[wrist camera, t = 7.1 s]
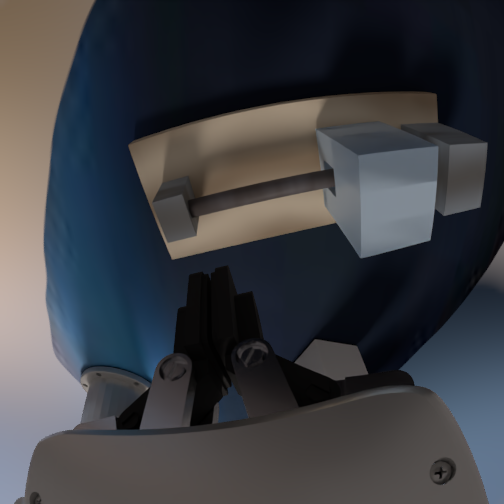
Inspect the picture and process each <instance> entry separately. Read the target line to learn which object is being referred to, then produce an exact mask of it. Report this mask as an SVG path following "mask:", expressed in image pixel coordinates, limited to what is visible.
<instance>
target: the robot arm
mask: <svg viewBox="0 0 504 504" xmlns="http://www.w3.org/2000/svg"><path fill="white" fill-rule="evenodd" d="M231 381H232V383H233V385H234V386H235V388H236V390H237V392H238V394H239V395H240V396H242V398H243V401H244V404H245V407H246V410H247V414H248V417H249V418H248V419H242V420H236V421H229V422H222V423H218V414H219V404H218V402H219V401H220V400H221V399H222V398H223V396H225V395H228V390H227V388H228V387H231ZM80 382H81V385H82V387H83V389H84V390H85V391H86V392H87V397H86V401H85V405H84V410H83V414H82V419H81V424H79V425H77V426H76V427H75V428H74V429H73V430H67V431H62V432H58V433H55V434H52V435H49V436H47V437H45V438H44V439H42V440H41V441H40V442H39V443H38V444H37V446H36V448H35V450H34V453H33V455H32V459H31V462H30V467H29V471H28V477H27V483H26V490H25V497H21V498H19V499H18V500H16V502H15V503H14V504H489V503H488V500H487V496H486V492H485V489H484V486H483V482H482V479H481V476H480V474H479V471H478V468H477V466H476V463H475V460H474V458H473V455H472V453H471V450H470V448H469V446H468V444H467V442H466V439H465V437H464V435H463V433H462V431H461V429H460V427H459V425H458V423H457V422H456V420H455V418H454V417H453V415H452V413H451V411H450V410H449V409H448V407H447V406H446V404H445V403H444V402H443V400H442V399H441V398H440V397H439V396H438V395H437V394H436V393H434V392H433V391H431V390H430V389H427V388H424V387H420V386H415V385H414V381H413V379H412V377H411V376H410V375H409V374H408V373H407V372H404V371H401V370H393V371H387V372H380V373H374V374H366V375H359V376H350V377H345V380H336V381H335V380H333V379H331V378H330V377H327V376H325V375H322V374H320V373H317V372H315V371H312V370H310V369H308V368H305V367H303V366H300V365H298V364H296V363H293V362H291V361H289V360H287V359H284V358H282V357H280V356H278V355H275V353H274V351H273V349H272V347H271V345H270V344H269V343H268V342H267V341H265V340H264V338H263V333H262V328H261V323H260V319H259V315H258V310H257V306H256V303H255V299H254V296H253V292H252V291H251V292H247V293H242V294H238V295H237V292H236V289H235V286H234V282H233V279H232V276H231V273H230V270H229V267H228V265H227V266H223V267H219V268H215V272H213V273H211V280H210V278H209V275H208V274H203V272H198V273H194V274H190V275H189V283H188V293H187V304H186V306H185V307H180V308H179V309H178V313H177V322H176V332H175V342H174V353H173V354H170V355H168V356H166V357H164V358H163V359H162V360H161V361H160V362H159V363H158V365H157V367H156V369H155V373H154V376H153V380H152V383H149V382H148V381H147V380H145V379H143V378H142V377H140V376H138V375H135V374H133V373H130V372H128V371H125V370H121V369H118V368H113V367H105V366H96V367H91V368H88V369H86V370H85V371H84V372H83V373H82V376H81V380H80ZM433 463H434V464H433ZM444 483H445V484H444ZM443 484H444V485H443Z"/></svg>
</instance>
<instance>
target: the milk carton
mask: <svg viewBox="0 0 504 504" xmlns="http://www.w3.org/2000/svg"><path fill="white" fill-rule="evenodd" d="M294 363H296V364H298V365H300V366H303V367H305V368H308V369H310V370H312V371H315V372H317V373H320V374H322V375H325V376H327V377H330V378H331V379H333V380H335V381H336V380H345V377H350V376H359V375H366V374H368V372H367V370H366V367H365V365H364V362H363V360H362V357H361V355H360V352H359V350H358V347H357V346H354V345H348V344H341V343H335V342H329V341H323V340H317V339H315V340H314V341H313V342H312V343H311V344H310V345H309V347H308V348H307V349H306V350H305V351H304V352H303V353H302V355H301V356H300V357H299V358H298V359H297V360H296V361H295V362H294Z"/></svg>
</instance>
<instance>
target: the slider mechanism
mask: <svg viewBox="0 0 504 504" xmlns="http://www.w3.org/2000/svg"><path fill="white" fill-rule="evenodd" d="M376 121H380V122H382V123H385V124H388V125H390V126H393V127H395V128H398V129H400V130H403V131H405V132H408V133H410V134H412V135H415V136H417V137H419V138H422V139H424V140H426V141H428V142H430V143H433V144H435V145H437V146H438V173H437V188H436V199H435V209H436V210H438V211H439V212H440V213H441V214H442V215H444V216H445V215H449V214H453V213H458V212H462V211H466V210H470V209H474V208H478V207H480V204H481V198H482V192H483V184H484V176H485V167H486V156H487V143H486V142H484V141H482V140H480V139H478V138H475V137H473V136H471V135H468V134H466V133H463V132H461V131H459V130H456V129H454V128H451V127H448V126H446V125H443V124H440V123H438V113H437V95H436V94H434V93H429V92H371V93H354V94H342V95H331V96H322V97H314V98H306V99H299V100H292V101H286V102H280V103H274V104H268V105H263V106H258V107H253V108H248V109H243V110H239V111H234V112H230V113H225V114H221V115H217V116H213V117H209V118H205V119H202V120H198V121H194V122H191V123H187V124H184V125H180V126H177V127H174V128H170V129H167V130H164V131H161V132H158V133H155V134H152V135H149V136H146V137H143V138H140V139H137V140H135V141H133V142H132V143H130V144H129V145H128V146H129V149H130V152H131V155H132V158H133V161H134V164H135V166H136V169H137V172H138V175H139V178H140V180H141V183H142V186H143V188H144V191H145V194H146V196H147V199H148V202H149V204H150V207H151V209H152V212H153V214H154V217H155V219H156V222H157V224H158V227H159V229H160V232H161V234H162V237H163V239H164V241H165V244H166V246H167V248H168V251H169V253H170V255H171V258H172V259H177V258H181V257H185V256H190V255H194V254H198V253H203V252H207V251H211V250H216V249H220V248H224V247H229V246H233V245H238V244H242V243H246V242H251V241H255V240H260V239H264V238H269V237H273V236H278V235H282V234H287V233H291V232H296V231H300V230H305V229H309V228H314V227H318V226H323V225H327V224H332V223H336V221H335V220H334V218H333V217H332V215H331V214H330V213H329V211H328V210H327V208H326V207H325V205H324V194H323V189H325V188H330V187H335V179H334V169H327V170H321V167H320V159H319V152H318V144H317V137H316V130H315V129H317V128H324V127H331V126H339V125H347V124H356V123H365V122H376Z"/></svg>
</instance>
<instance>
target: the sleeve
mask: <svg viewBox="0 0 504 504" xmlns="http://www.w3.org/2000/svg"><path fill="white" fill-rule="evenodd" d="M315 130H316V137H317V144H318V152H319V159H320V167H321V170H327V169H334V179H335V187H330V188H325V189H323V194H324V205H325V207H326V208H327V210H328V211H329V213H330V214H331V215H332V217H333V218H334V220H335V221H336V223H337V224H338V225H339V227H340V228H341V230H342V231H343V233H344V234H345V236H346V237H347V239H348V240H349V242H350V243H351V245H352V246H353V248H354V249H355V251H356V252H357V254H358V255H359V257H360V258H365V257H369V256H373V255H377V254H381V253H384V252H388V251H392V250H396V249H400V248H404V247H407V246H411V245H415V244H418V243H422V242H426V241H429V240H430V239H431V232H432V225H433V218H434V209H435V199H436V188H437V173H438V146H437V145H435V144H433V143H430V142H428V141H426V140H424V139H422V138H419V137H417V136H415V135H412V134H410V133H408V132H405V131H403V130H400V129H398V128H395V127H393V126H390V125H388V124H385V123H382V122H380V121H376V122H365V123H356V124H347V125H339V126H331V127H324V128H317V129H315Z"/></svg>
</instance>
